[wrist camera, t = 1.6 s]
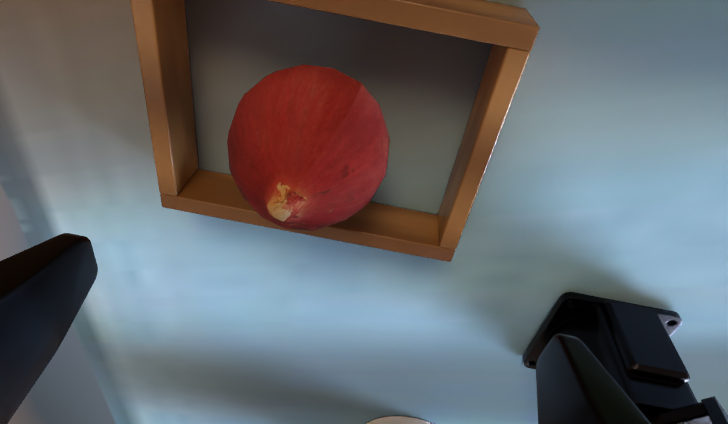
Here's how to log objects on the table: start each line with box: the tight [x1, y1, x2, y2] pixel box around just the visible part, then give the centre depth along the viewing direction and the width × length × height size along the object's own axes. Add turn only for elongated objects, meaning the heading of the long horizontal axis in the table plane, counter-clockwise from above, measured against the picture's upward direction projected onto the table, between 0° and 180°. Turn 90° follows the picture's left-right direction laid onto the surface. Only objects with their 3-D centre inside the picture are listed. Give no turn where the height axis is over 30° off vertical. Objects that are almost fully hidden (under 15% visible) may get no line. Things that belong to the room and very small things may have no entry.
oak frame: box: [131, 0, 540, 262], centre depth 19 cm, size 11×14×2 cm
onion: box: [227, 64, 390, 231], centre depth 16 cm, size 6×6×8 cm
